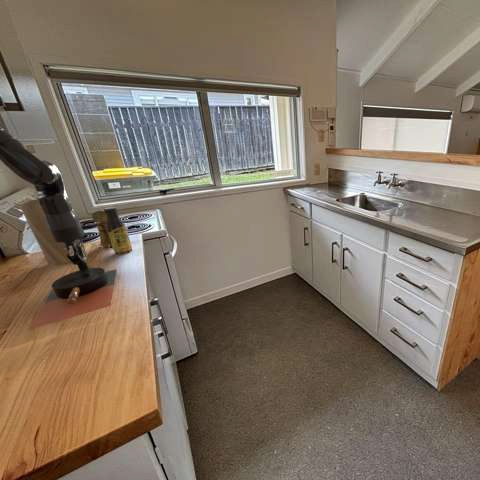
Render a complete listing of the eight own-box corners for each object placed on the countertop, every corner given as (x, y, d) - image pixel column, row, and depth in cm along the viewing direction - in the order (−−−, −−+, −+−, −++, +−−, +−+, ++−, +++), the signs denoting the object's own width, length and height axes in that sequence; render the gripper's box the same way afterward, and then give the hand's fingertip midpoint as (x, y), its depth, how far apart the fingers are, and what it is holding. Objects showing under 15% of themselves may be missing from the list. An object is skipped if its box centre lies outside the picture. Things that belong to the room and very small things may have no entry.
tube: (58, 268, 98) (27, 205, 89) (43, 265, 102) (12, 203, 92) (87, 257, 107) (62, 198, 97) (73, 254, 110) (47, 197, 101)
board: (29, 332, 65) (28, 329, 65) (56, 285, 86) (55, 283, 86) (111, 307, 74) (110, 305, 74) (118, 270, 95) (117, 268, 95)
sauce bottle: (122, 257, 106) (105, 210, 98) (112, 255, 108) (94, 209, 100) (137, 250, 112) (122, 206, 104) (127, 249, 113) (111, 205, 106)
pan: (42, 319, 69) (36, 308, 67) (61, 284, 85) (57, 275, 84) (103, 302, 75) (99, 292, 74) (110, 273, 92) (106, 264, 90)
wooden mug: (99, 253, 111) (83, 213, 104) (102, 243, 121) (87, 206, 114) (124, 247, 115) (111, 209, 108) (124, 239, 126) (112, 203, 119)
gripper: (54, 222, 86) (75, 267, 92) (43, 233, 75) (67, 283, 82) (83, 217, 89) (101, 261, 96) (76, 228, 79) (97, 276, 86)
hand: (85, 271), depth 89 cm, fingers closed
